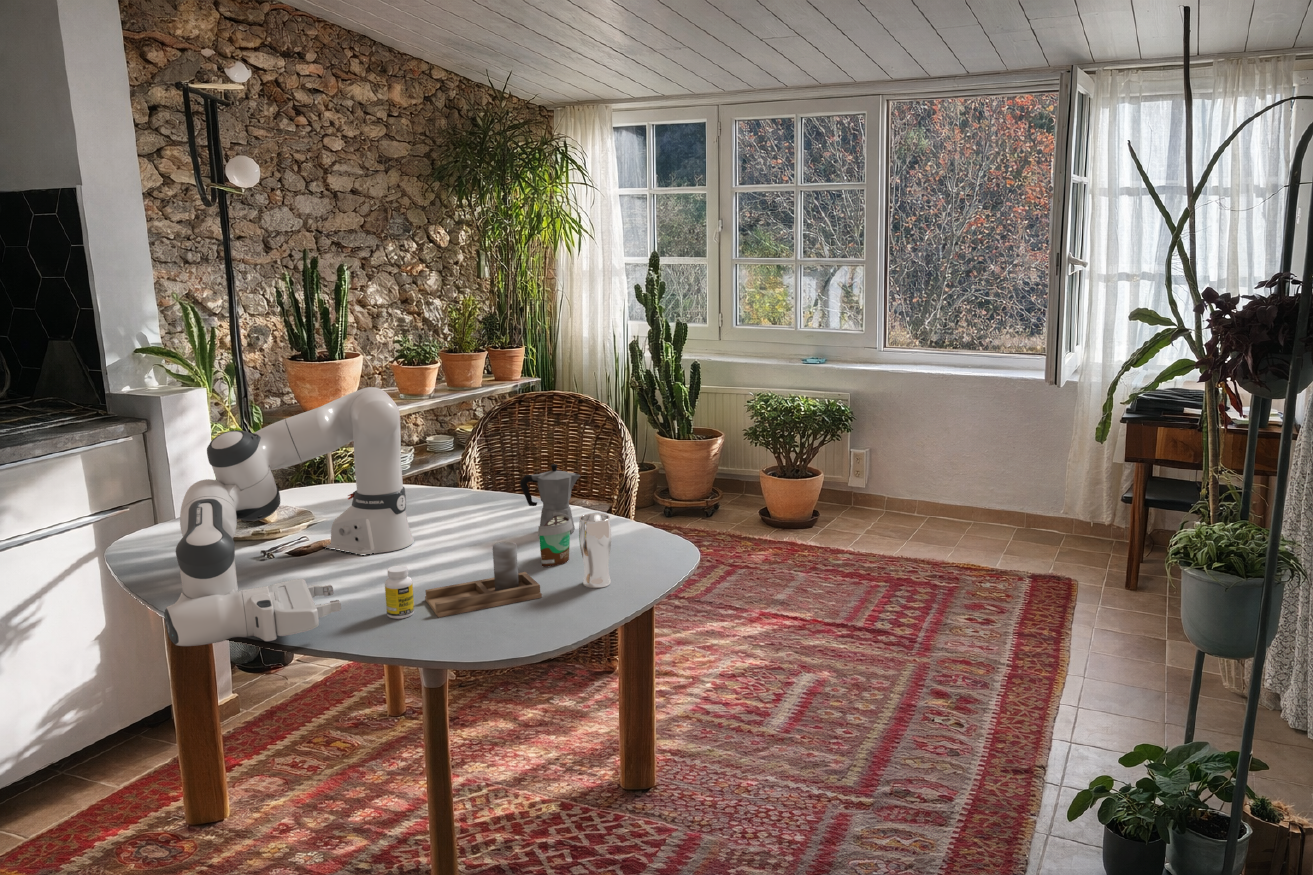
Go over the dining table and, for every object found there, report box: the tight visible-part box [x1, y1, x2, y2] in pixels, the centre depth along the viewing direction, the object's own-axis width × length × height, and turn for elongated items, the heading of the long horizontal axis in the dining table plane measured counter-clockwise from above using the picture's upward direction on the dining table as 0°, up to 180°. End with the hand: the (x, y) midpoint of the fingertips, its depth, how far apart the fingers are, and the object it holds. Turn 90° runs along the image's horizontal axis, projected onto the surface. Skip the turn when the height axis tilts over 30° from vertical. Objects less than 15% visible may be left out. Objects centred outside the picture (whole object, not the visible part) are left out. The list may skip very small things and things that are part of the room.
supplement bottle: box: [384, 565, 415, 620], centre depth 194 cm, size 5×5×10 cm
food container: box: [537, 513, 573, 568], centre depth 224 cm, size 12×6×10 cm, turn 168°
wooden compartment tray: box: [424, 541, 543, 618], centre depth 201 cm, size 22×11×11 cm, turn 117°
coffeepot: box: [519, 463, 582, 535], centre depth 245 cm, size 15×9×18 cm, turn 103°
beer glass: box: [578, 512, 612, 589], centre depth 208 cm, size 7×7×15 cm
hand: (336, 597), depth 188 cm, fingers open, 8 cm apart
